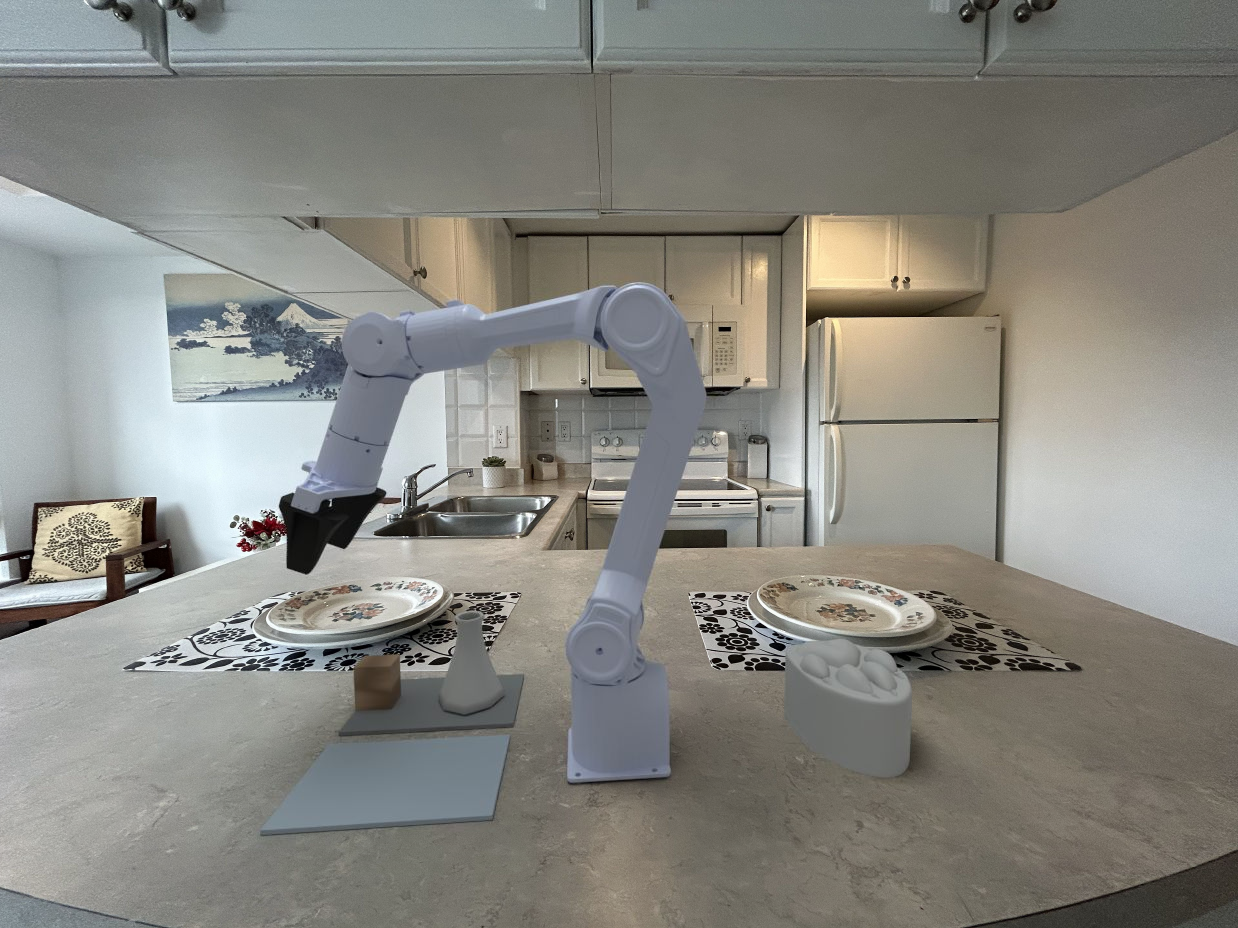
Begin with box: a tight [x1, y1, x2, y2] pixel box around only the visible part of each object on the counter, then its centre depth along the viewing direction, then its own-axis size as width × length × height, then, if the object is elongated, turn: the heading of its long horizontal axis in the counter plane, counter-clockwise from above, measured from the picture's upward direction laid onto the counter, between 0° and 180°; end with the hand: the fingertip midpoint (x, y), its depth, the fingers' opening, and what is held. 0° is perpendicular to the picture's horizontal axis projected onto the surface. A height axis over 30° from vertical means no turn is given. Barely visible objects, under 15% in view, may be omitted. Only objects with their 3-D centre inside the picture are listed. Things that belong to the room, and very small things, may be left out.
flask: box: [438, 610, 505, 715], centre depth 59 cm, size 7×7×10 cm
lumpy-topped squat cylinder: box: [783, 638, 913, 779], centre depth 52 cm, size 10×13×9 cm
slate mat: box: [259, 734, 511, 836], centre depth 46 cm, size 18×11×1 cm, turn 95°
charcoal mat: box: [338, 653, 525, 737], centre depth 59 cm, size 18×11×5 cm, turn 95°
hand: (318, 557), depth 53 cm, fingers open, 7 cm apart
